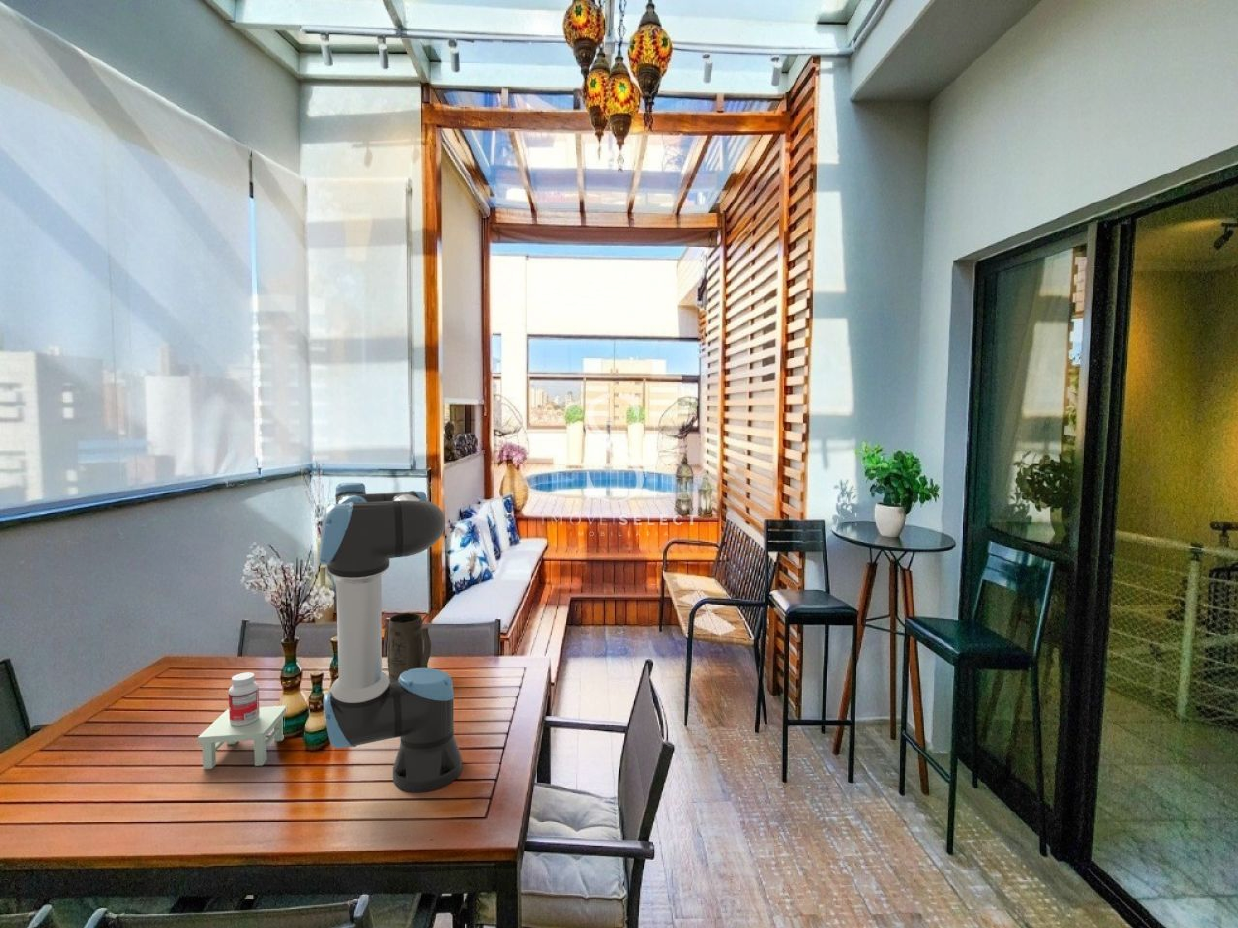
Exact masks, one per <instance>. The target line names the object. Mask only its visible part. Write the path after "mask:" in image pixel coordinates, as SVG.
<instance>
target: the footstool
mask: <svg viewBox="0 0 1238 928" xmlns="http://www.w3.org/2000/svg"><path fill="white" fill-rule="evenodd" d="M286 707H287V708H288V705H275V706H274V705H272V706H270V705H269V706H259V713H260V715H259V718H258V719H257V720H256V721H255V722H253V723H251V724H248V725H244V726H233V725H231V724H230V714H229V708H227V709H226V710H225V711H224V712H222V713H221V715H220V716H219V717H217V719H215V720H214V721H213V722H212V723H211V724H210V725H209V726H207V728H206V729H204V730H203V732H202V733H200V735H198V736H197V744H199V745H200V744H202V760H203V761H202V763H203V765H202V766H203V770H212V769H214V767H215V766H217V759H216V758H217V757H216V752H217V751H218V749H220V748H221V746H222V745H223V744H225V743H226V745H236V743H237V742H244V741H253V752H254V754H253V755H254V766H255V767H257V766H263V765H265V763H266V762H267V747H268V746H269V745H270V744H271V743H272V741H274V742H282V741H283V740H284V739H285V738H284V735H283V716H284V717H285V715H286V714H287V712H286ZM270 733H271V734H270ZM269 734H270V735H269ZM268 735H269V736H268ZM267 736H268V737H267ZM266 737H267V738H266Z"/></svg>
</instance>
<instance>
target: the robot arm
mask: <svg viewBox="0 0 1238 928" xmlns="http://www.w3.org/2000/svg"><path fill="white" fill-rule="evenodd" d="M334 496H335V504H334V503H333V504H331V505H329V506H328V507H326V509H325V511H324V515H323V518H322V526H321V535H320V545H319V554H318V555H319V559H318V561H319V563H320V564H321V565H325V566H327V572H328V574H329V575H330V576H332V577H334V578H335V588H336V590H335V591H336V597H335V599H336V623H337V624H336V629H337V631H336V632H337V665H338V667H337V668H338V669H337V671H338V674H337V675H338V678H336V679H335V680H334V681H333V683H332V685H331V686H330V687H331V688H330V691H329V692H327V693H325V694H324V696H323V709H324V710H323V711H324V717H325V718H324V719H325V725H326V731H327V736H328V740H329V743H330V745H331V746H332V747H333V748H335V749H345V748H356V747H357V746H361V745H365V744H371V743H375V742H379V741H384V740H385V741H386V740H390V739H394V738H399V737H400V745H399V748H398V751H397V755H396V757H395V760H394V764H393V767H392V782H393V783H394V785H395V786H396V787H397V788H399V789H401V790H403V791H406V792H413V793H421V792H422V793H423V792H429V791H434V790H437V789H441V788H444V787H446V786H447V785H450V784H451V783H453V782H454V781H455V780H457V778H459V776H460V775H461V773H462V771H463V756H462V755H461V754H462V753H461V751H460V748H459V746H458V743H457V741H456V738H455V721H454V720H455V719H454V712H455V711H454V710H455V709H454V707H455V706H454V698H455V692H454V684H453V682H454V681H453V679H452V677H451V675H450V674H449V673H447V672H446V671H444V670H442V669H437V668H432V667H428V668H414V669H409V670H408V671H404V672H403V673H401V675H400V677H399V678H398V681H396V682H390V681H389V677H388V676H389V675H388V674H387V673H385V672H383V633H382V632H383V628H382V624H383V621H382V620H383V615H382V614H383V613H382V611H383V605H382V603H383V601H382V598H383V597H382V594H383V593H382V590H383V589H382V583H383V582H382V580H383V579H382V576H383V574H384V573H386V571H387V570H389V568H390V559H393V558H403V557H410V556H415V555H417V554H420V553H422V552H424V551H426V550H428V549H429V548H431V547H433V546H434V545H435V544H436V543H438V541H439V540H440V538H441V537H442V536H443V534H444V532H445V528H446V518H445V514H444V513H443V510H442V509H441V508H440V507H439V506H438V505H437V504H435V503H434V502H431V501H429V500H428V498H427V494H426V493H425V492H423V491H414V490H413V491H400V492H399V491H398V492H377V493H375V492H373V493H372V492H371V493H367V492H366V485H365V484H364V483H362V482H342V483H338V484H337V485H336V486H335V495H334Z"/></svg>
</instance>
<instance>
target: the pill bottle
mask: <svg viewBox="0 0 1238 928" xmlns="http://www.w3.org/2000/svg"><path fill="white" fill-rule="evenodd" d="M255 680H256V677H255V673H254V672H249V671H247V672H241V673H237V674H235V675H233V676H232V677H231V685H232V686H231V687H230V688H229V689H228V707H229V708H228V709H229V714H230V724H231V725H233V726H244V725H248V724H251V723H253V722H255V721H256V720H257V719H258V718H259V715H260V713H259V707H260V694H259V693H260V691H259V690H260V689H259V684H258V682H256V681H255Z"/></svg>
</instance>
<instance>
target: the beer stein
mask: <svg viewBox="0 0 1238 928" xmlns="http://www.w3.org/2000/svg"><path fill="white" fill-rule="evenodd" d="M387 625H388V626H387V627H388V640H387V661H386V662H387V672H388V675H387V676H388V677H389V681H390V682H396V681H398V678H399V677H400V675H401V673H403V672H404V671H408V670H409V669H414V668H429V667H428V665H429V664H428V663H429V661H430V656H431V653H432V641H431V637H430V633H429V627H428V626H423V619H422V616H421V615H419V614H418V613H413V612H412V613H411V612H408V613H399V614H395V615H393V616H391V617H390V618H389V620H388V623H387Z"/></svg>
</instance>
